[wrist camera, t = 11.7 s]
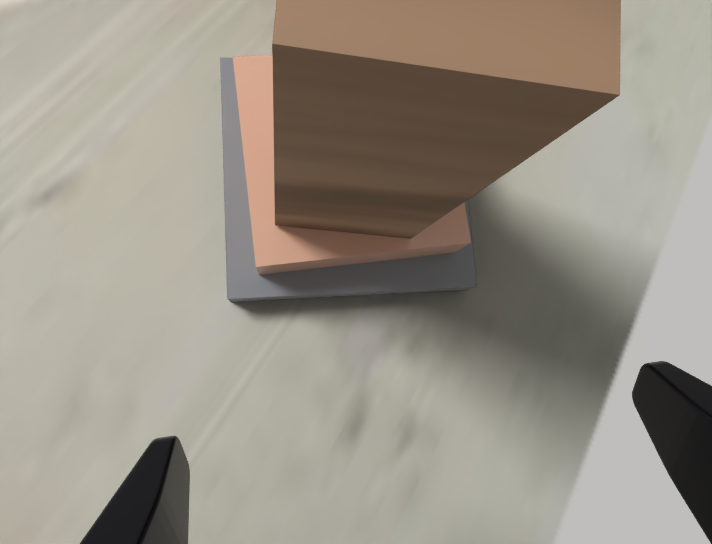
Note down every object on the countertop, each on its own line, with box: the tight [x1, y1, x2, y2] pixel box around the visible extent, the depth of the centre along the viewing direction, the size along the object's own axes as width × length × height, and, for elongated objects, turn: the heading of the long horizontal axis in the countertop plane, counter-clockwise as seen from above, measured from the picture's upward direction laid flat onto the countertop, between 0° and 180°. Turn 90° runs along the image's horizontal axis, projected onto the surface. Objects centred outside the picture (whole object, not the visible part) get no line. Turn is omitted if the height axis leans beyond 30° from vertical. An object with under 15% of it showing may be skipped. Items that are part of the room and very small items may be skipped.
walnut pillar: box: [272, 0, 621, 239], centre depth 13 cm, size 5×5×12 cm
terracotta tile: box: [233, 55, 471, 275], centre depth 21 cm, size 8×8×2 cm
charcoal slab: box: [220, 58, 476, 302], centre depth 22 cm, size 10×10×2 cm
